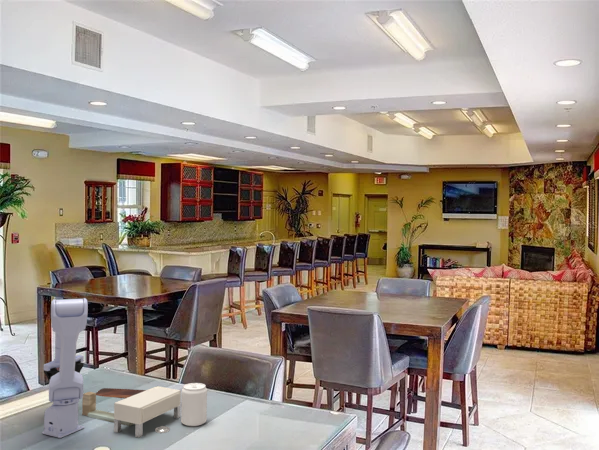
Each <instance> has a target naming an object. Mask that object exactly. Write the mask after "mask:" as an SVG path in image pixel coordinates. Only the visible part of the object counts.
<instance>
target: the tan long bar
mask: <svg viewBox="0 0 599 450" xmlns="http://www.w3.org/2000/svg"><path fill="white" fill-rule="evenodd" d="M96 393H97V392H94V391H88V392H83V397H82V399H81V400H82V410H81V413H82V416H86V417H88V418H91V419H97V420H101V421H103V422H104V421H105V422H110V423H113V424H114V412H109V411H105V410H102V409H101V410H100V409H97V395H96ZM133 425H135V424H134V423H130V422H125V421H121V426H128V427H131V426H133Z"/></svg>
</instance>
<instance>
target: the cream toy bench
mask: <svg viewBox="0 0 599 450" xmlns="http://www.w3.org/2000/svg"><path fill="white" fill-rule="evenodd" d="M145 390H146V391H143V392H141V393H138V394H136V395H133V396H131V397H128V398H122V399H121V400H118V401H116V402H114V403H113V405H114V406H113V413H114V423H113V432H114V433H117V434H118V433H120V432H121V431H122V424H121V421H125V422H130V423H134V424H133V425H135V429H134V430H135V435H134V436H135V438H138V439H139V438H142V437H143V435H144V434H143V426H144V425H143V424H144V423H146V422H148V421H150V420H153V419H154V418H156V417H158V416H161V415H163V414H165V413H167V412H169V411H171V410H173V419H181V406H182V389H174V388H171V387H170V388H169V387H165V386H158V385H157V386H154V387H151V388H149V389H145Z"/></svg>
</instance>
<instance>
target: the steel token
mask: <svg viewBox="0 0 599 450" xmlns="http://www.w3.org/2000/svg"><path fill="white" fill-rule="evenodd" d="M154 429H155V430H154V431H155V433H157V434H166V433H169V432H170V429H171V428H170V427H169V426H167V425H161V426H157V427H156V428H154Z"/></svg>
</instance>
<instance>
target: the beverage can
mask: <svg viewBox="0 0 599 450" xmlns="http://www.w3.org/2000/svg"><path fill="white" fill-rule="evenodd" d="M206 385H207V384H205V383H202V382H191V383H186V384H184V385H183V388H182V389H181V405H180V419H181V422H180V423H182V424H183V425H185V426H187V427H198V426H201V425H203V424H205V423H207V416H208V414H207V412H208V411H207V408H208V389H207V387H206Z"/></svg>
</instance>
